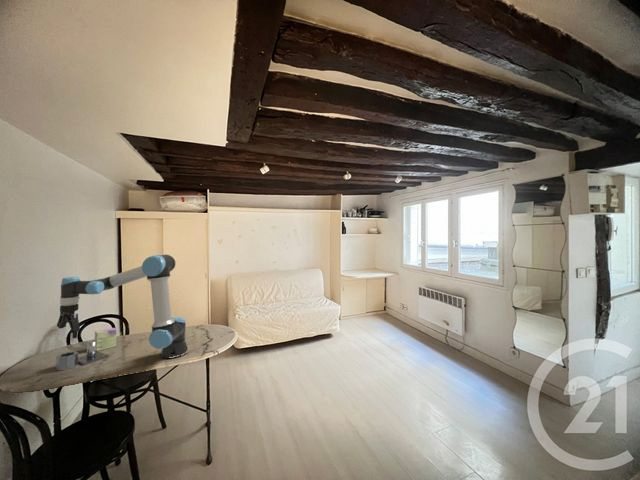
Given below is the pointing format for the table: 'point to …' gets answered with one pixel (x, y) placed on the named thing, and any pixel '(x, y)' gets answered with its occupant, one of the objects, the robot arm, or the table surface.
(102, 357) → the shaft stand
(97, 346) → the box
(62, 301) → the robot arm
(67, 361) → the hub
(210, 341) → the table surface
